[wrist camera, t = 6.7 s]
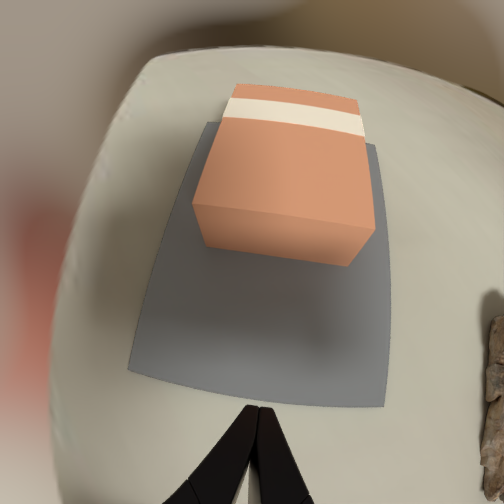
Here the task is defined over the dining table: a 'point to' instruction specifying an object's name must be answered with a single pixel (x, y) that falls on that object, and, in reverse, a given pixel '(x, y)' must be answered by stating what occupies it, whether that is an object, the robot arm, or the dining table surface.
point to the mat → (266, 313)
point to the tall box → (287, 177)
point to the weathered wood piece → (494, 415)
